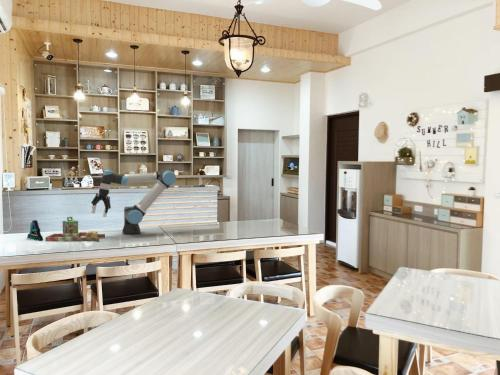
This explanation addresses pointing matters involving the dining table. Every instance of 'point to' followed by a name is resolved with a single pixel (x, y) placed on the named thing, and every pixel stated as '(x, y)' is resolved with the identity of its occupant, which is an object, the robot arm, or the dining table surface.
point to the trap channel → (73, 237)
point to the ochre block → (92, 234)
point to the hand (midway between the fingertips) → (98, 215)
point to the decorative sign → (35, 231)
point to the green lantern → (70, 226)
